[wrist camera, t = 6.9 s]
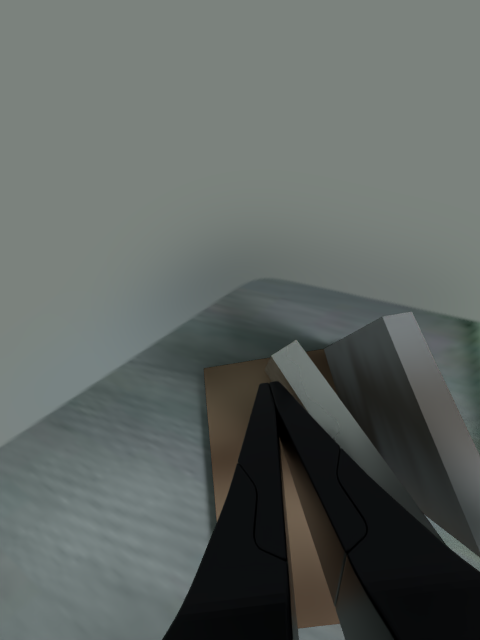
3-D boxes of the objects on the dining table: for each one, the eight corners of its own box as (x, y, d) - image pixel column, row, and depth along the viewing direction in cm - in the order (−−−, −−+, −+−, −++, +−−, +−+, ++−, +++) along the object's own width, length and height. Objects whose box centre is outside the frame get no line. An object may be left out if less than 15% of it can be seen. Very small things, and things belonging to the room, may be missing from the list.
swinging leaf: (345, 463, 12) (460, 565, 5) (330, 474, 12) (427, 593, 5) (277, 361, 15) (296, 339, 8) (264, 369, 15) (271, 355, 8)
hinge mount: (440, 598, 11) (975, 1226, 3) (228, 624, 11) (153, 1238, 3) (352, 345, 16) (455, 301, 8) (205, 369, 16) (152, 352, 8)
